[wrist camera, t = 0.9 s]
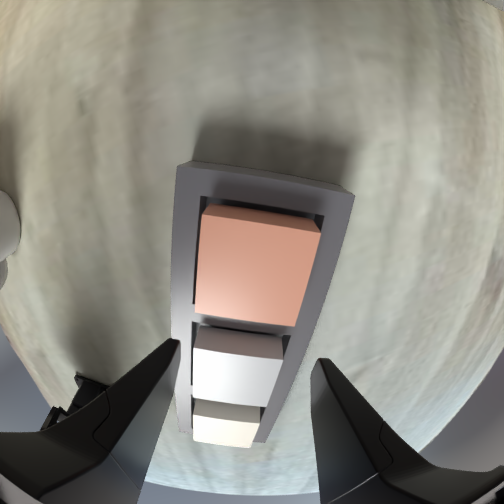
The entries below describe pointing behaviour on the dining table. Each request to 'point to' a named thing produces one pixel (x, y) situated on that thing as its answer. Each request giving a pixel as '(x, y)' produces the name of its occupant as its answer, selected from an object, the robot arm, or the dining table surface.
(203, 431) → the cream key
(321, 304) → the frame
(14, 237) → the cup
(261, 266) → the terracotta key
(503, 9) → the decorative bowl
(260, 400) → the grey key
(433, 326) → the dining table surface
